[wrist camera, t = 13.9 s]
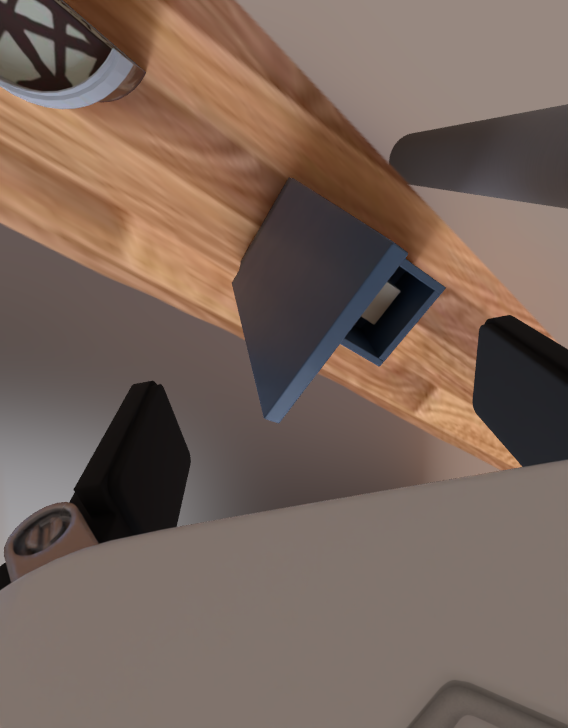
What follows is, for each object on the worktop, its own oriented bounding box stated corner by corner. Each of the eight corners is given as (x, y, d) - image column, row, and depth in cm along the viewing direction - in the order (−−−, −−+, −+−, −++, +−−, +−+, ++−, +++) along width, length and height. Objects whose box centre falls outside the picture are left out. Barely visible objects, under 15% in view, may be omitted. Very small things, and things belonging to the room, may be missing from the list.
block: (357, 258, 37) (368, 268, 33) (388, 279, 38) (401, 291, 35) (334, 291, 38) (341, 304, 35) (364, 310, 40) (374, 325, 36)
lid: (409, 253, 13) (393, 241, 13) (278, 424, 17) (263, 418, 17) (301, 184, 27) (292, 177, 26) (240, 288, 30) (231, 283, 30)
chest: (413, 265, 38) (446, 287, 32) (360, 333, 42) (379, 367, 35) (289, 176, 34) (296, 180, 27) (240, 261, 37) (236, 283, 30)
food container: (-24, 39, 28) (-153, -16, 19) (5, -50, 26) (-126, -158, 17) (127, 155, 32) (77, 152, 23) (162, 86, 30) (122, 56, 21)
